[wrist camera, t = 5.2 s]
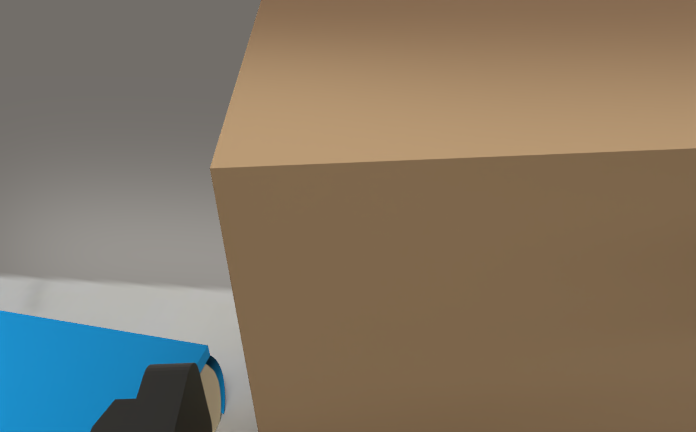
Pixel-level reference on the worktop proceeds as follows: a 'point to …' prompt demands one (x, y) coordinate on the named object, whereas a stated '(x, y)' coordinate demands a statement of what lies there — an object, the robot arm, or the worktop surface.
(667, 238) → the tall wooden block
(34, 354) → the book
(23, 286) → the worktop surface
